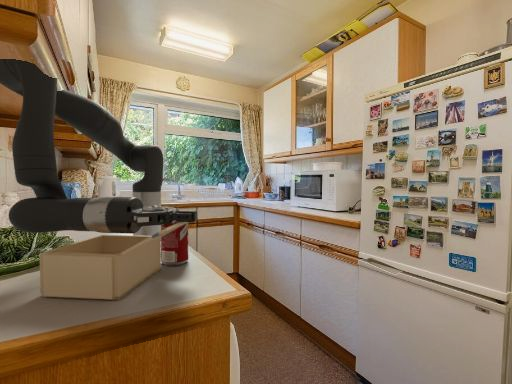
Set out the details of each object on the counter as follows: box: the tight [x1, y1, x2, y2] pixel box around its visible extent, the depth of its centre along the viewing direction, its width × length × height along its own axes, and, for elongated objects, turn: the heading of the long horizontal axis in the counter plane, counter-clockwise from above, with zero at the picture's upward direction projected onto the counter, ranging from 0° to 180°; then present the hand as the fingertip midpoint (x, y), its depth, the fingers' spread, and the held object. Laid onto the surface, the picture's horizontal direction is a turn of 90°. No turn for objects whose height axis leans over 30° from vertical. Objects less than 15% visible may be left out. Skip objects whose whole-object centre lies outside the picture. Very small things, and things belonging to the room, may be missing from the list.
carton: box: [38, 234, 162, 301], centre depth 57 cm, size 18×15×8 cm
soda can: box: [160, 222, 189, 267], centre depth 70 cm, size 7×7×12 cm
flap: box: [121, 222, 189, 255], centre depth 56 cm, size 16×1×10 cm
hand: (196, 216), depth 55 cm, fingers closed
